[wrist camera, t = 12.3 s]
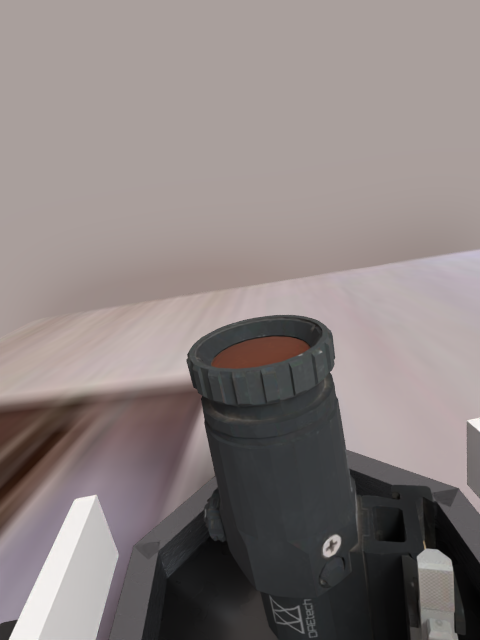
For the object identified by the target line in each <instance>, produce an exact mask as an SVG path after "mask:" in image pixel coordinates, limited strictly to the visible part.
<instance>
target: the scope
mask: <svg viewBox="0 0 480 640" xmlns="http://www.w3.org/2000/svg"><path fill="white" fill-rule="evenodd" d="M187 355H188V358H187V364H188V368H189V372H190V376H191V380H192V383H193V387H194V388H196V389H197V390H198V393H199V394H201V395H202V398H201V401H202V407H203V412H204V418H205V422H204V423H205V428H206V433H207V438H208V442H209V447H210V452H211V457H212V462H213V466H214V471H215V476H216V481H217V485H218V487H217V488H216V489H215V490H214V491H213V493H212V496H211V497H210V498H209V499H208V500H207V502H208V503H207V504H206V505H205V507H204V521H205V522H206V524H205V525H206V527H207V528H208V530H209V534H210V536H211V538H212V539H213V540H214V541H217V540H220V541H221V542H224V541H227V542H228V546H229V550H230V552H231V554H232V555H233V557H234V559H235V560H236V562H237V564H238V565H239V567H240V568H241V570H242V571H243V573H244V574H245V576H246V577H247V578H248V580H249V581H250V583H251V584H252V585H253V586H254V588H255V589H256V590H257V591H260V593H261V597H262V601H263V606H264V610H265V614H266V617H267V621H268V625H269V627H270V629H271V630H272V631H273V633H274V634H275V636H276V637H277V638H278V640H458V636H457V634H461V635H465V634H466V625H465V615H464V609H463V605H462V601H461V597H460V593H459V589H458V585H457V581H456V577H455V574H454V570H453V566H452V562H451V559H450V558H448V557H447V556H446V555H444V554H443V553H442V552H440V551H439V550H437V549H436V539H435V513H434V500H433V497H432V493H431V489H430V488H429V487H427V486H416V485H393V486H391V489H392V499H390V498H384V497H379V496H366V495H363V496H362V497H361V495H357V493H356V485H355V480H354V479H353V478H352V476H351V475H350V470H349V464H348V458H347V452H346V446H345V440H344V434H343V427H342V421H341V415H340V409H339V403H338V399H337V397H336V394H335V386H334V382H333V378H332V375H331V373H330V371H332V369H333V367H334V359H335V353H334V345H333V336H332V333H331V330H329V329H328V328H327V327H326V326H325V325H324V324H323V323H321V322H319V321H318V320H315V319H312V318H308V317H304V316H296V315H273V316H265V317H258V318H252V319H247V320H243V321H239V322H236V323H232V324H229V325H226V326H224V327H221V328H219V329H216V330H215V331H213V332H211V333H209V334H207V335H205V336H203V337H202V338H201V339H199V340H198V341H197V342H196V343H195V344H194V345H193V346H192V348H191V349H190V351H189V353H188V354H187Z"/></svg>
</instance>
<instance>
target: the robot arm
mask: <svg viewBox="0 0 480 640" xmlns="http://www.w3.org/2000/svg"><path fill="white" fill-rule="evenodd" d="M467 485H468V486H469V487H470V488H471V489H472V490H473V491H474V492H475V494H476V495H477V496H478V497H479V498H480V418H477V419H472V420H467ZM118 556H119V554H118V551H117V548H116V546H115V543H114V540H113V538H112V535H111V532H110V530H109V527H108V524H107V522H106V519H105V516H104V514H103V511H102V508H101V505H100V503H99V500H98V497H97V495H93V496H88V497H83V498H78V499H75V500H74V502H73V504H72V506H71V508H70V510H69V513H68V515H67V517H66V519H65V521H64V523H63V525H62V527H61V530H60V532H59V534H58V536H57V538H56V540H55V542H54V545H53V547H52V549H51V551H50V553H49V555H48V557H47V559H46V562H45V564H44V566H43V568H42V570H41V572H40V574H39V576H38V579H37V581H36V583H35V585H34V587H33V589H32V591H31V593H30V596H29V598H28V600H27V602H26V604H25V606H24V608H23V610H22V613H21V615H20V617H19V619H18V620H14V621H9V622H4V623H1V624H0V640H96V637H97V633H98V629H99V626H100V622H101V618H102V615H103V611H104V607H105V604H106V600H107V596H108V592H109V589H110V585H111V581H112V578H113V574H114V570H115V567H116V563H117V559H118Z"/></svg>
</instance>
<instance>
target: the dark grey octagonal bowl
mask: <svg viewBox="0 0 480 640" xmlns="http://www.w3.org/2000/svg"><path fill="white" fill-rule="evenodd" d="M346 452H347V458H348V464H349V470H350V475H351V476H352V478H353V479H354V480H355V485H356V493H357V495H361V497H362V496H363V495H366V496H379V497H384V498H390V499H392V489H391V486H393V485H416V486H427V487H429V488H430V489H431V493H432V497H433V500H434V513H435V539H436V549H437V550H439V551H440V552H442V553H443V554H444V555H446V556H447V557H448V558H450V559H451V562H452V566H453V570H454V574H455V577H456V581H457V585H458V589H459V593H460V597H461V601H462V605H463V609H464V615H465V625H466V634H465V635H461V634H457V636H458V640H480V514H479V513H478V512H477V511H476V509H475V508H474V507H473V506H472V504H471V503H470V502H469V501H468V499H467V498H466V497H465V496H464V494H463V493H462V492H461V491H460V490H459V488H456V487H453V486H450V485H447V484H444V483H442V482H439V481H436V480H433V479H430V478H427V477H424V476H421V475H418V474H416V473H413V472H410V471H407V470H404V469H401V468H398V467H395V466H392V465H389V464H387V463H384V462H381V461H378V460H375V459H372V458H369V457H366V456H363V455H361V454H358V453H355V452H352V451H349V450H346ZM217 487H218V485H217V481H216V476H214V477H213V478H212V479H211V480H210V481H209V482H207V483H206V484H205V485H204V486H203V487H202V488H201V489H199V490H198V491H197V492H196V493H195V494H194V495H192V496H191V497H190V498H189V499H188V500H187V501H185V502H184V503H183V504H182V505H181V506H180V507H178V508H177V509H176V510H175V511H174V512H173V513H171V514H170V515H169V516H168V517H167V518H166V519H164V520H163V521H162V522H161V523H160V524H159V525H157V526H156V527H155V528H154V529H153V530H152V531H150V532H149V533H148V534H147V535H146V536H145V537H143V538H142V539H141V540H140V541H139V542H138V543H136V544H135V545H134V547H133V551H132V554H131V558H130V562H129V566H128V569H127V573H126V577H125V581H124V584H123V588H122V592H121V596H120V599H119V603H118V607H117V611H116V614H115V618H114V622H113V626H112V629H111V633H110V637H109V640H278V638H277V637H276V636H275V634H274V633H273V631H272V630H271V629H270V627H269V625H268V621H267V617H266V614H265V610H264V606H263V601H262V597H261V593H260V591H257V590H256V589H255V588H254V586H253V585H252V584H251V583H250V581H249V580H248V578H247V577H246V576H245V574H244V573H243V571H242V570H241V568H240V567H239V565H238V564H237V562H236V560H235V559H234V557H233V555H232V554H231V552H230V550H229V546H228V542H227V541H224V542H221V541H220V540H217V541H214V540H213V539H212V538H211V536H210V534H209V530H208V528H207V527H206V525H205V524H206V522H205V521H204V507H205V505H206V504H207V503H208V502H207V500H208V499H209V498H210V497H211V496H212V493H213V491H214V490H215V489H216V488H217Z"/></svg>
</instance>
